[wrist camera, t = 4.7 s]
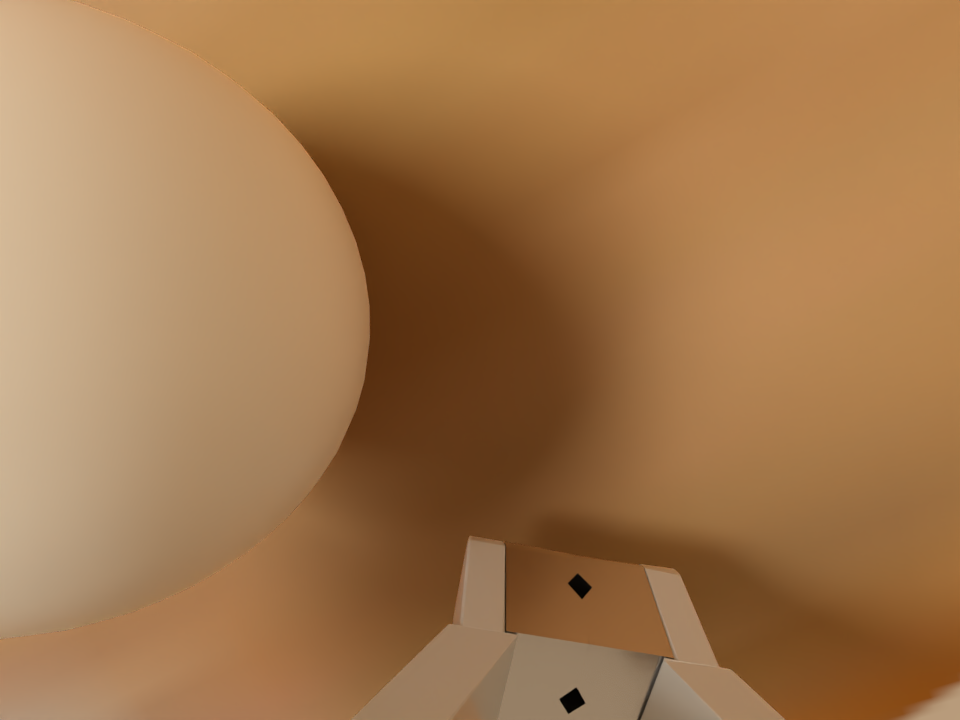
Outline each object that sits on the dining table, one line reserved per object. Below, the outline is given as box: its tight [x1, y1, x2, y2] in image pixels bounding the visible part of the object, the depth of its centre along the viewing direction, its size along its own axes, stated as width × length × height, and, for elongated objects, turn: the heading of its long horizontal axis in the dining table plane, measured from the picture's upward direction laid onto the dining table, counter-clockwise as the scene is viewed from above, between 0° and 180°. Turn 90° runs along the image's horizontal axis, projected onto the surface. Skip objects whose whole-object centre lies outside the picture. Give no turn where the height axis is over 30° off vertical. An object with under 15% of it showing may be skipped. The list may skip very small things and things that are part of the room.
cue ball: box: [0, 0, 370, 639], centre depth 5 cm, size 6×6×6 cm
